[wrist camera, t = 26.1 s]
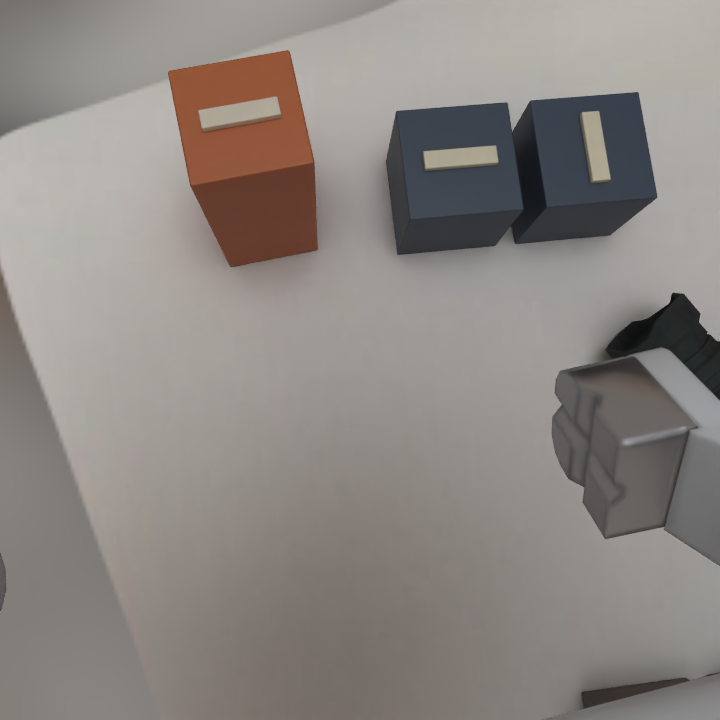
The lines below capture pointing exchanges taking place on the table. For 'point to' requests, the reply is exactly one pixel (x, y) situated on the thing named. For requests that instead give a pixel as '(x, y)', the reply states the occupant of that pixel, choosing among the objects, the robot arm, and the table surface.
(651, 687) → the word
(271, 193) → the i letter block
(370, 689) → the table surface
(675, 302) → the flashlight
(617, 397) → the robot arm
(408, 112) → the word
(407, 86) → the table surface
